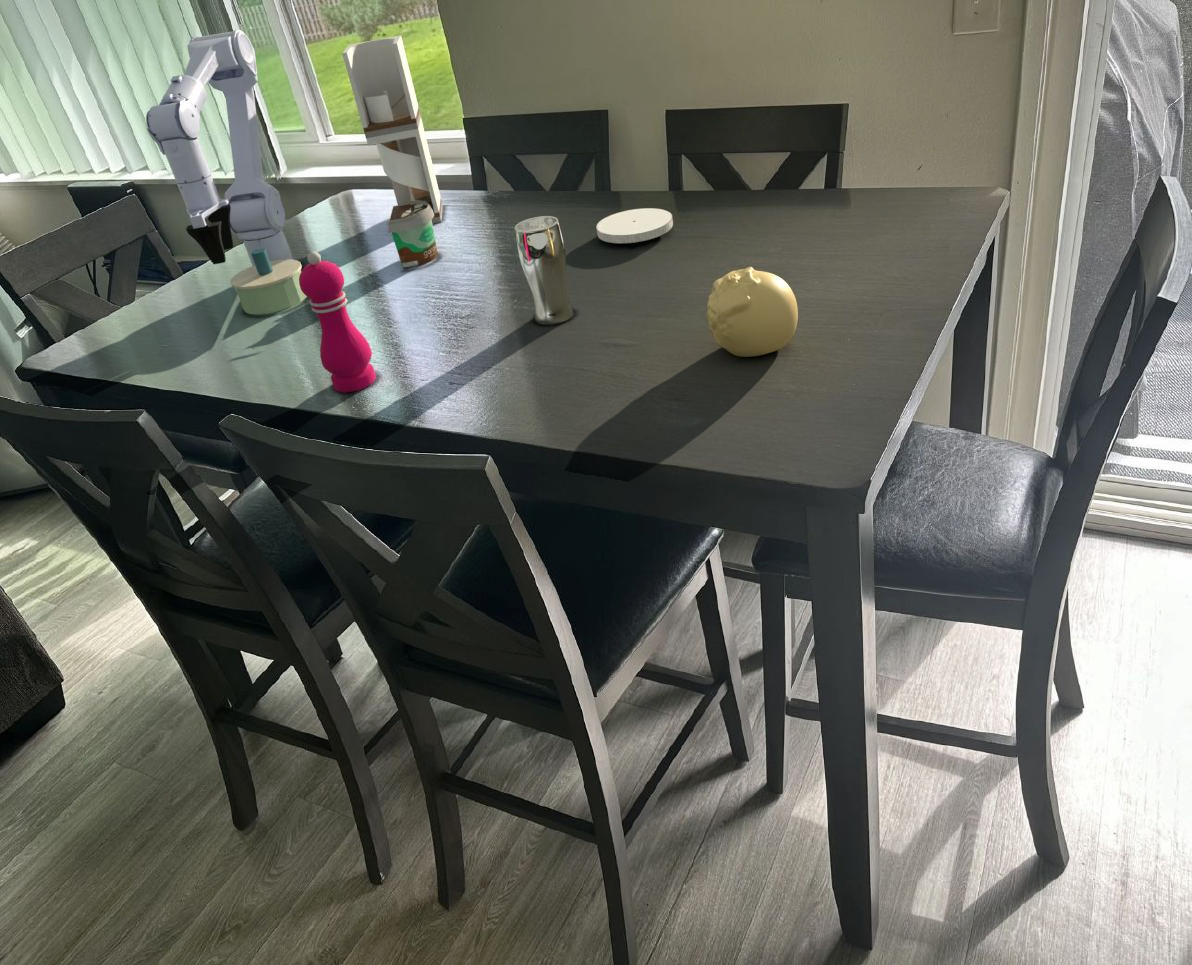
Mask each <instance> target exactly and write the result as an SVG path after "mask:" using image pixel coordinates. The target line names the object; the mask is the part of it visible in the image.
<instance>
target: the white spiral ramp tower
mask: <svg viewBox="0 0 1192 965" xmlns="http://www.w3.org/2000/svg"><path fill="white" fill-rule="evenodd" d="M404 46H405V45H404V41H403V38H402V35H401V34H400V35H394V36H389V37H384V38H378V39H372V40H368V41H362V42H357V43H351V44H348V45H347V47H346V48H345V49H344V50H343V51H342V53H341V54H342V57H343V62H344V65H345V69H346V72H347V75H348V80H349V82H350V86H351V91H352V93H353V97H354V101H355V104H356V107H357V108H356V109H357V112H358V115H359V118H360V122H361V125H362V129H363V133H364V137H365V141H366V144H367V146H372V145H376V148H377V151H378V154H379V159H380V161H381V166H382V169H383V172H384V173H385V175H386V176H387V177H388V179H390V182H391V185H392V186H391V187H392V189H393V193H394V196H395V201H396V204H397V205H393V206H392V210H391V214H390V217H389V221H390V220H396V219H397V218H398V216H399V215H400V213H401V212H403V211H406V210H407V209H408V208H409V207H410V206H411V204H410V201H412V200H421V201H425V202H427V203H428V204H429V205H430V207H431V208H432V210H433V213H434V217H433V218H432V225H433V224H438V223H442V220H443V210H444V204H443V202H442V198H441V197H442V196H441V192H440V189H439V188H440V187H439V186H438V180H437V177H436V172H435V168H434V164H433V160H432V156H431V152H430V149H429V144H428V140H427V135H426V132H425V127H424V124H423V123H424V122H423V119H422V115H421V110H420V107H419V103H418V99H417V95H416V90H415V87H414V83H413V79H412V74H411V71H410V67H409V61H408V59H407V58H408V57H407V55H406V50H405V47H404Z"/></svg>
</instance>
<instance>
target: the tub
mask: <svg viewBox="0 0 1192 965" xmlns="http://www.w3.org/2000/svg"><path fill="white" fill-rule="evenodd" d="M301 271H302V269H301V270H300V271H299V272H298V273H297V274H295V275H294V276H292V277H291V278H289V279H286V280H284V281H282V282H279V283H276V284H273V285H270V286H266V287H261V288H255V289H237V288H234V289H235V291H236V293H237V296H238V299H239V302H240V304H241V307H242V309H243V311H244V312H245V313H246V314H250V315H267V314H272V313H277V312H280V311H283V310H286V309H289V308H293V307H294V306H296V305H298V304H300V303H301V302H303V301H304V300H305V299H306V298H308V297H307V296H306V295H305V294H304V293H303V292H302V290H301V288H300V285H299V276H300V273H301Z"/></svg>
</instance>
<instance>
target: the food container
mask: <svg viewBox="0 0 1192 965" xmlns="http://www.w3.org/2000/svg"><path fill="white" fill-rule="evenodd" d="M410 204H411V206H410V207H409V208H408V209H407V210H406V211H403V212H401V213H400V215H399V216H398V218H397V219H396V220H390V219H389V220H387V226H388V232H389V233H390V234H391V236H392V239H393V243H394V245H395V249H396V251H397V254H398V257H399V261H400V263H401V266H402V269H411V268H416V267H419V266H423V265H425V264H428V263H430V262H432V261H434V260H435V259H436V258H437V257H438V248H437V242H436V236H435V231H434V226H433V224H432V218H433V217H434V213H433V210H432V208H431V207H430V205H429V204H428V203H427V202H425V201H421V200H412V201H410Z"/></svg>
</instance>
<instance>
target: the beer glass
mask: <svg viewBox="0 0 1192 965" xmlns="http://www.w3.org/2000/svg"><path fill="white" fill-rule="evenodd" d="M514 231H515V238H516V245H517V246H516V247H517V251H518V257H519V261H520V265H521V267H522V271H523V274H524V277H525V278H526V282H527V284H528V286H529V289H530V291H531V294H532V298H533V304H534V320H535V322H536V323H537V324H539V325H543V326H552V325H559V324H561V323H564V322H567V321H569V320H570V319H571V318H572V317H573V315H574V310H573V307H572V305H571V302H570V300H569V295H568V290H567V256H566V255H567V254H566V248H565V242H564V238H563V234H562V229H561V227H560V223H559V218H558V217H556V216H552V215H542V216H535V217H531V218H527V219H524V220H522V221H519V222H518V223H517V224H515V226H514Z"/></svg>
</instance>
